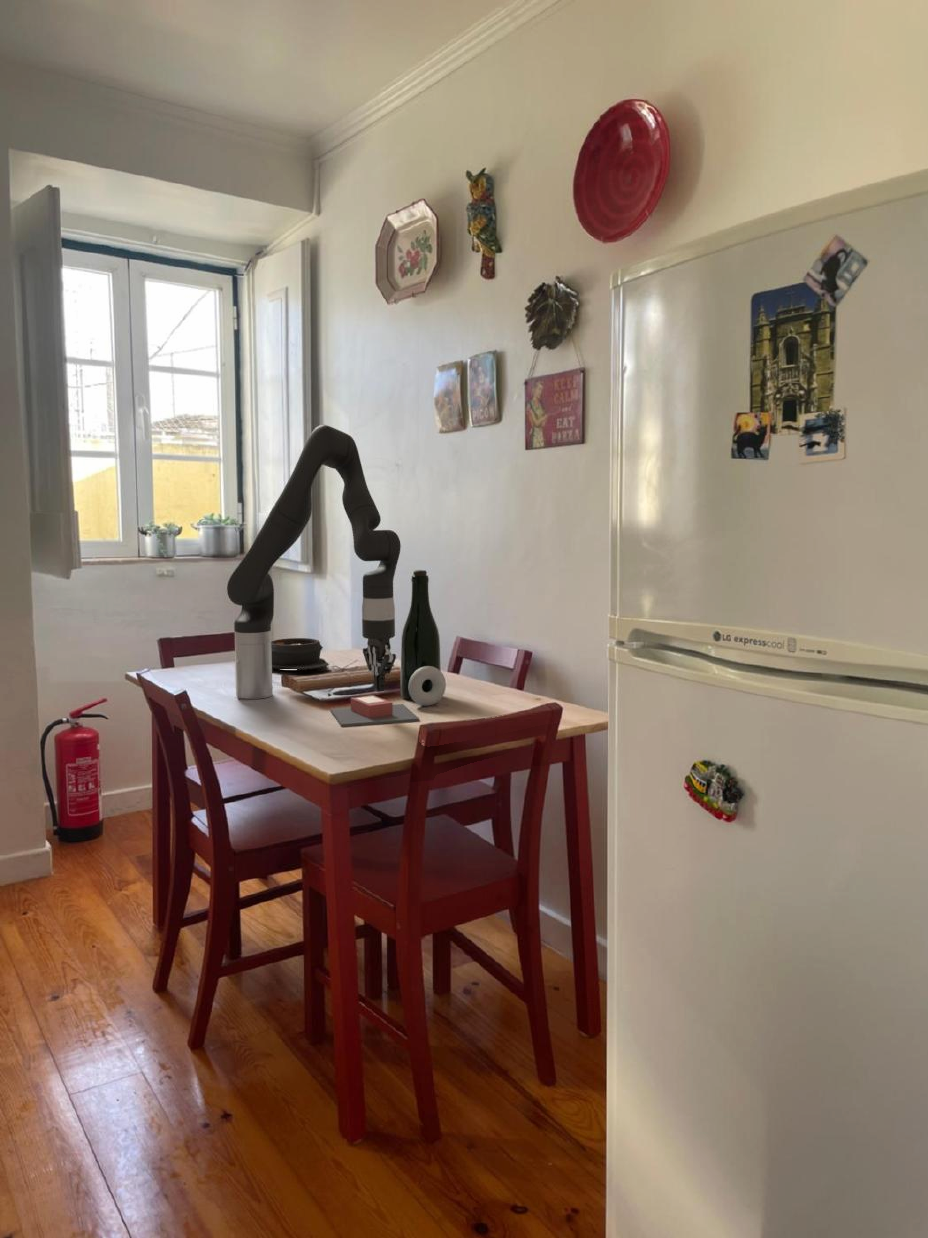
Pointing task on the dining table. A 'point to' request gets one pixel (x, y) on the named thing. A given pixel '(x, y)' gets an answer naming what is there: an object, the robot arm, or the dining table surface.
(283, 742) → the dining table surface
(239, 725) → the dining table surface
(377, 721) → the mat
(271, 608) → the robot arm
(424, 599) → the dark green wine bottle
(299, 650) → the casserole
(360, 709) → the card box
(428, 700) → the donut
